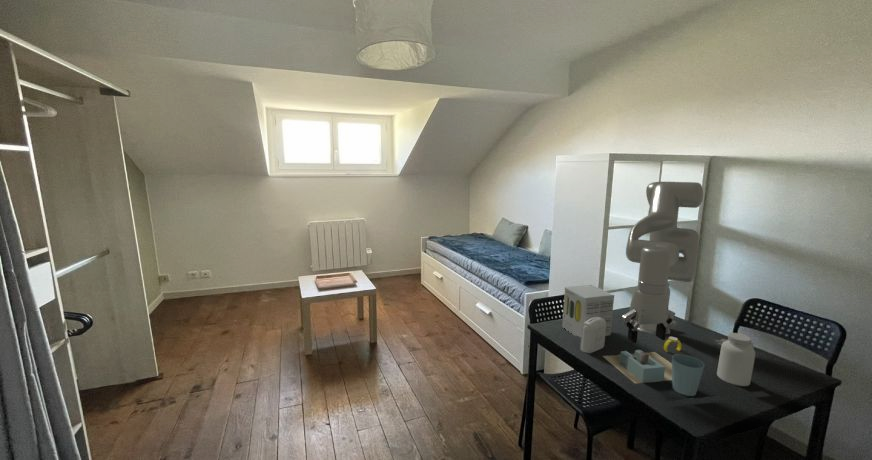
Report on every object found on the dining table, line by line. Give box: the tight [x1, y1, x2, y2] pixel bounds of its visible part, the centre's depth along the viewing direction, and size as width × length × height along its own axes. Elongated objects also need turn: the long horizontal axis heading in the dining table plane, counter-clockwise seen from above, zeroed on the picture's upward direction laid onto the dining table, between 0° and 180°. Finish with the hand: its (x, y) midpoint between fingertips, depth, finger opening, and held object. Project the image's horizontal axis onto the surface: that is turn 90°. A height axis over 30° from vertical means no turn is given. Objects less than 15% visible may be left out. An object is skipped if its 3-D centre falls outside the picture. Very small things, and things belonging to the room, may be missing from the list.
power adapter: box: [711, 338, 755, 349], centre depth 127 cm, size 11×5×6 cm, turn 63°
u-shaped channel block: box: [619, 349, 665, 384], centre depth 112 cm, size 10×7×4 cm
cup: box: [671, 353, 705, 400], centre depth 103 cm, size 8×8×10 cm
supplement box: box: [562, 284, 615, 338], centre depth 141 cm, size 13×13×18 cm
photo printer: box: [579, 317, 606, 354], centre depth 127 cm, size 10×4×12 cm, turn 123°
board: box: [602, 351, 672, 385], centre depth 116 cm, size 20×16×8 cm
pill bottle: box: [716, 332, 756, 387], centre depth 109 cm, size 8×8×15 cm
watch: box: [663, 336, 682, 353], centre depth 126 cm, size 6×3×6 cm, turn 98°
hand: (646, 339), depth 111 cm, fingers open, 9 cm apart
